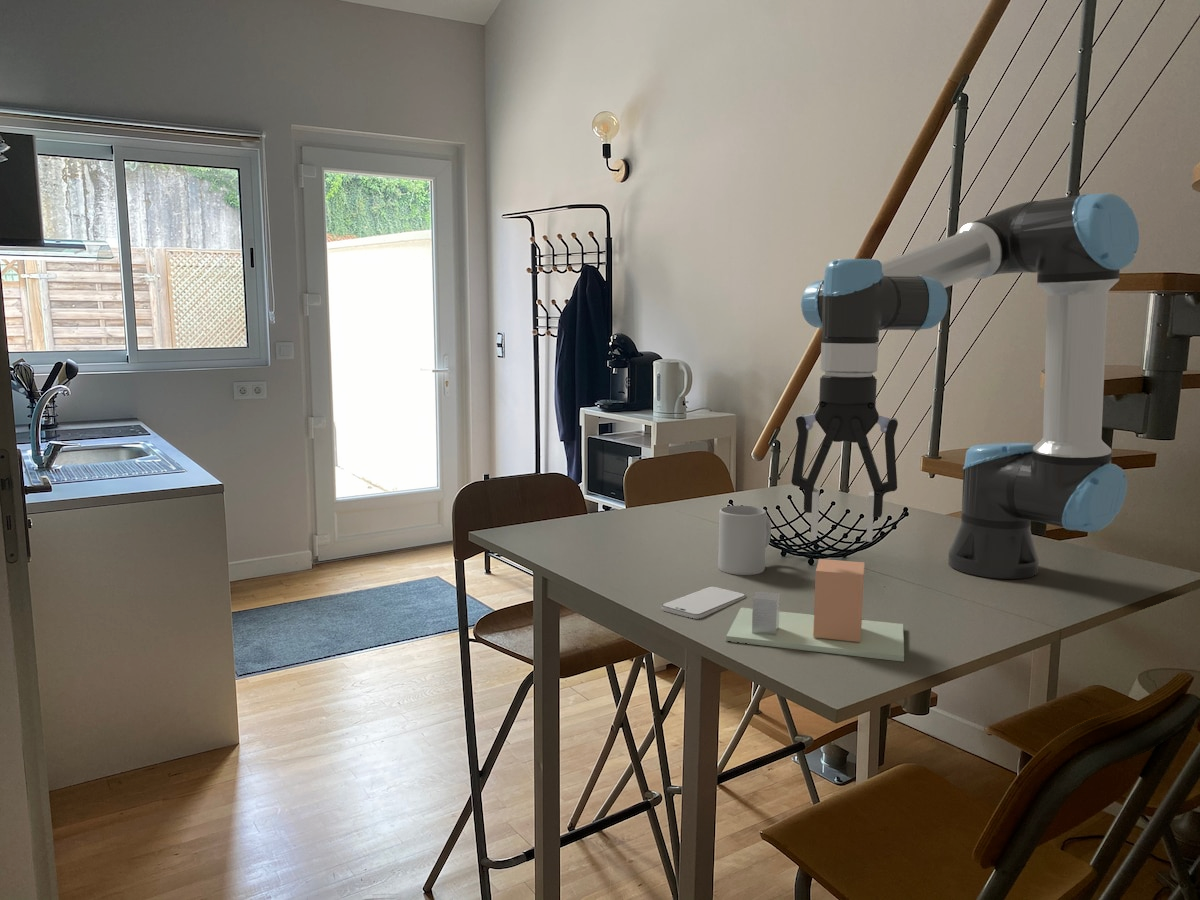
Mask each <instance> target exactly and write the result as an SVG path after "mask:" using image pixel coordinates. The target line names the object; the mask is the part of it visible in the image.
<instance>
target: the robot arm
mask: <svg viewBox="0 0 1200 900" xmlns="http://www.w3.org/2000/svg"><path fill="white" fill-rule="evenodd" d="M1139 230H1140V229H1139V224H1138V221H1137V218H1136V215H1135V213H1134V211H1133V209H1132V207H1131V206H1129V203H1128V202H1127V201H1126V200H1125V199H1124V198H1122V196H1121V197H1120V196H1119V195H1117V194H1114V193H1106V192H1104V193H1089V192H1088V193H1086V194H1084V193H1083V194H1080V195H1074V196H1073V195H1072V196H1064V197H1058V198H1051V199H1044V200H1031V201H1026V202H1022V203H1019V204H1016V205H1012V206H1009V207H1007V208H1005V209H1001V210H999V211H997V212H994V213H990V214H989V215H987V216H983V217H982V218H979V219H977V220H974V221H971V222H968V223H966V224H964V225H963V226H961V227H960V228H959V229H958V230H957V231H956V233H955V234H954V235H951V236H948V237H946V238H944V239H941V240H938V241H935V242H932V243H930V244H927V245H925V246H922V247H919V248H917V249H914V250H912V251H909V252H906V253H904V254H901V255H898V256H896V257H893V258H890V259H888V260H884V261H882V262H881V261H880V260H877V259H873V258H846V259H845V258H844V259H836V260H835V259H834V260H832V261H830V262H828V263H827V264H826V266H825V270H824V277H823V278H824V279H823V280H815V281H813V282H811V283H809V285H808V286H807V287H806V288H805V289H804V291H803V293H802V295H801V299H800V300H801V302H800V307H801V312H802V313H801V314H802V316H803V319H804V320H805V321H806V322H807V323H808V324H809V325H810V326H811V327H814V328H818V329H821V342H820V343H821V345H820V371H821V372H823V373H824V375H821V377H820V378H819V397H818V398H819V399H818V401H819V402H818V407H817V409H816V411H815V412H814V413H811V414H805V415H804V414H800V415H798V416H797V418H796V419H795V423H796V424H795V425H796V428H797V434H798V435H797V442H796V449H795V454H794V462H793V468H792V475H791V485H793V486H794V487H799V488H801V489H802V490H803V511H804V513H807V514H808V513H809V514H811V515H810V516H811V518H810V521H811V523H810V538H817V536H818V534H819V533H818V532H819V508H820V505H819V504H820V488H815V484H816V482H817V479H818V477H819V475H820V472H821V470H822V468H823V465H824V463H825V460H826V459H827V457H828V456H827V455H828V453H829V452H830V449H831V447H832V444H833V442H836V443H841V442H849V443H855V444H856V443H857V445H858V448H859V450H860V455H861V456H862V457H861V458H862V460H863V463H864V465H865V469H866V471H867V474H868V478H869V480H870V483H871V486H872V490H873V491H868V495H867V497H868V498H867V519H866V520H867V521H866V536H865V537H866V538H865V539H866V540H865V541H866V542H868V543H869V542H870V543H872V542H873V528H874V518H882V515H883V505H884V503H883V501H884V495H885V494H887V493H891V492H895V491H897V489H898V475H897V463H896V462H897V461H896V447H895V435H896V432H897V429H898V424H899V423H898V419H897V418H895V417H891V418H890V417H885V416H882V415H879V412H878V410H877V406H876V403H877V387H878V386H877V385H878V383H877V380H878V379H877V378H876V376H875V375H874V374H873V373H876V372H877V371H878V359H879V343H880V342H879V339H880V331H882V330H883V331H915V332H918V331H920V330H928V329H929V330H930V329H932V328H934V327H935V326H938V324H940V323H941V321H942V320H943V319H944V317H945V315H946V313H947V310H948V303H949V302H948V299H949V298H948V293H947V290H946V288H948V287H951V286H953V285H956V284H958V283H960V282H963V281H966V280H967V279H974V280H983V279H986V278H989V277H991V276H996V275H1003V274H1005V275H1006V274H1016V273H1017V274H1018V273H1019V274H1020V273H1023V274H1024V273H1026V274H1027V273H1032V274H1034V273H1035V274H1036V273H1037V275H1036V276H1037V279H1036V281H1037V282H1036V285H1037V286H1038V287H1039V288H1041V289H1042V290H1043V291H1044V292H1045V294H1046V295H1047V296H1046V325H1045V326H1046V327H1045V329H1046V330H1045V353H1044V354H1045V357H1044V359H1045V360H1044V362H1045V363H1044V387H1043V388H1044V390H1043V419H1042V421H1043V422H1042V423H1043V425H1042V438H1041V440H1040V441H1038V442H1037V443H1036V444H1035V443H1031V442H1002V443H987V444H986V443H984V444H983V443H982V444H976V445H973V446H971V447H969V448H968V449H967V450H966V452H965V459H964V465H963V467H962V471H963V474H962V475H963V476H962V477H963V478H962V479H963V480H962V492H961V493H962V496H961V497H962V499H961V515H960V524H959V527H958V528H957V531H956V534H955V536H954V539H953V542H952V543H951V545H950V549H949V551H948V559H947V560H948V565H949V566H950V567H951V568H953V569H955V570H957V571H959V572H962V573H964V574H969V575H974V576H976V577H977V576H978V577H984V578H991V579H992V578H993V579H1002V580H1004V579H1006V580H1008V579H1010V580H1012V579H1015V580H1016V579H1018V580H1019V579H1027V578H1028V579H1029V578H1031V577H1034V575H1035V576H1037V575H1038V573H1039V557H1038V553H1037V549H1036V546H1035V543H1034V538H1033V535H1032V531H1031V527H1032V526H1031V524H1032V523H1031V521H1032V522H1039V523H1042V524H1047V525H1049V526H1050V525H1052V526H1056V527H1059V528H1063V529H1065V530H1068V531H1080V532H1085V533H1094V532H1098V531H1101V530H1102V529H1105V528H1106V527H1108V526H1109V525H1110V524H1111V523H1112V522H1113V521H1114V519H1115V518H1116V517H1117V515H1118V514H1119V513H1120V511H1121V509H1122V507H1123V506H1124V502H1125V499H1126V496H1127V491H1128V480H1127V476H1126V474H1125V471H1124V469H1123V468H1122V467H1120V466H1118V465H1117V464H1116V463H1112V448H1111V447H1110V446H1109V445H1108V444H1106V443H1105V442H1104V441H1103V439H1102V437H1103V436H1102V434H1103V430H1102V429H1103V410H1104V388H1105V386H1104V385H1105V367H1106V366H1105V363H1106V360H1105V359H1106V345H1107V344H1106V342H1107V341H1106V339H1107V318H1108V317H1107V315H1108V294H1109V291H1110V290H1111V288H1113V287H1114V286H1115V285H1116V284H1117V283H1118V282H1119V281H1120V274H1121V273H1120V272H1121V271H1120V270H1122V269H1124V268H1126V267H1128V266H1129V265H1130V264H1131V263H1132V262H1133V261H1134V259H1135V254H1136V253H1137V251H1138V248H1139V243H1140V232H1139ZM815 422H816V423H817V424H818V425H819V427H820V428H821V429H822V431H823V433H824V434H825V436H824V438H823V441H822V443H821V444H820V448H819V450H818V453H817V454H816V456H815V460H814V462H813V464H812V467H811V470H810V471H809V473H808V476H807V478H806V477H803V473H804V467H805V460H806V453H807V447H808V441H809V431H810V430H812V429H813V427H814V423H815ZM876 424H878V425H879V426H880V427H879V428H880V431H881V433H882V434H884V445H885V446H884V447H885V460H886V461H885V462H886V479H887V481H884V482H882V479H881V476H880V473H879V469H878V467H877V464H876V461H875V458H874V455H873V452H872V449H871V446H870V443H869V439H868V436H867V435H868V434H869V433H870V432H871V430H873V428H874V426H875V425H876Z"/></svg>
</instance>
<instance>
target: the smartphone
mask: <svg viewBox="0 0 1200 900" xmlns="http://www.w3.org/2000/svg"><path fill="white" fill-rule="evenodd" d="M745 598H746V594H745V593H742V592H738V591H736V590H735V591H734V590H731V589H727V588H721V587H716V586H708V587H705V588H701V589H699V590H697V591H694V592H691V593H688V594H686V595H683V596H681V597H677V598H675V599H673V600H670V601H667V602H663V603H662V604H661V610H662V611H664V612H666V613H670V614H674V615H678V616H682V617H686V618H688V617H689V619H692V618H693V620H700V619H702V618H705V617H707V616H709V615H711V614H713V613H715V612H717V611H718V612H719V611H720V610H722V609H725V608H726V607H729V606H731V605H732V604H735V603H737V602H739V601H741V600H743V599H745ZM699 618H700V619H699Z"/></svg>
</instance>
